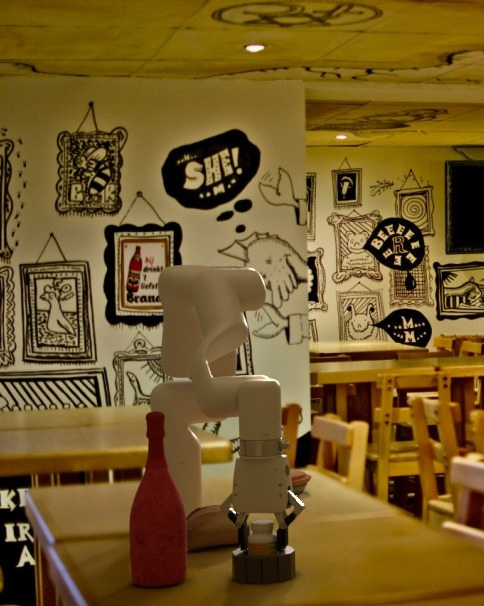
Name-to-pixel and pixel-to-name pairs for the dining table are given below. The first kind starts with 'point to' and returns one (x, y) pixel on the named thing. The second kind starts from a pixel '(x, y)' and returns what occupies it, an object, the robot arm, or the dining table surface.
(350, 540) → the dining table surface
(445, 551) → the dining table surface
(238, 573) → the tape roll
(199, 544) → the bread roll
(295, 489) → the pie
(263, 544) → the supplement bottle
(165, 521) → the wine bottle
